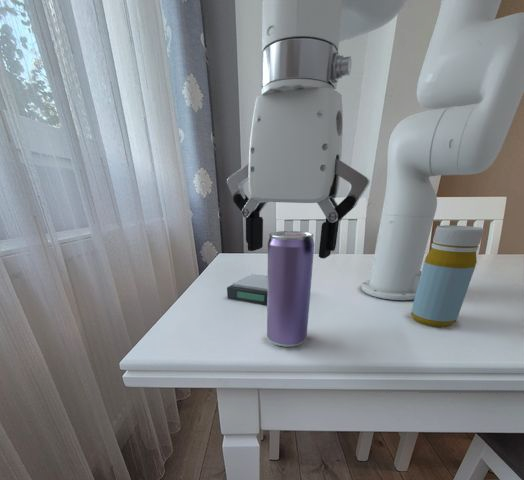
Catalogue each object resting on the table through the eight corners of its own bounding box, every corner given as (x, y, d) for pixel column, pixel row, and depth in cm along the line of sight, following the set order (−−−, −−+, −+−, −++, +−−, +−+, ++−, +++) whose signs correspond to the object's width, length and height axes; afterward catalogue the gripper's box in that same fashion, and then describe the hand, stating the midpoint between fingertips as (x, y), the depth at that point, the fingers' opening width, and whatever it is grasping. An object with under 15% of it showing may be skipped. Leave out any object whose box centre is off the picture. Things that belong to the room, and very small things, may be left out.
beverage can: (305, 350, 41) (314, 237, 34) (263, 346, 42) (264, 236, 35) (307, 332, 47) (315, 231, 39) (270, 329, 48) (271, 230, 40)
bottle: (461, 330, 47) (497, 231, 40) (415, 326, 49) (442, 229, 41) (446, 314, 53) (475, 225, 46) (406, 311, 55) (428, 224, 47)
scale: (294, 292, 64) (295, 279, 63) (275, 307, 56) (275, 292, 55) (250, 286, 69) (249, 273, 67) (226, 298, 61) (226, 284, 59)
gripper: (391, 80, 30) (361, 254, 38) (242, 98, 36) (244, 243, 44) (383, 51, 24) (349, 265, 32) (206, 79, 30) (216, 251, 38)
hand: (288, 252), depth 38 cm, fingers open, 9 cm apart
